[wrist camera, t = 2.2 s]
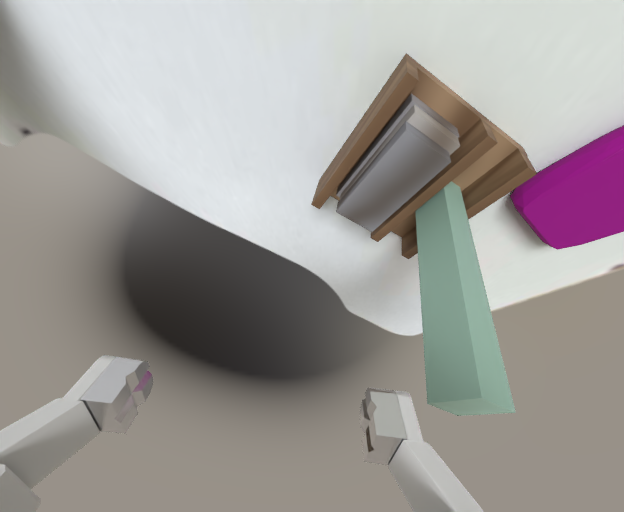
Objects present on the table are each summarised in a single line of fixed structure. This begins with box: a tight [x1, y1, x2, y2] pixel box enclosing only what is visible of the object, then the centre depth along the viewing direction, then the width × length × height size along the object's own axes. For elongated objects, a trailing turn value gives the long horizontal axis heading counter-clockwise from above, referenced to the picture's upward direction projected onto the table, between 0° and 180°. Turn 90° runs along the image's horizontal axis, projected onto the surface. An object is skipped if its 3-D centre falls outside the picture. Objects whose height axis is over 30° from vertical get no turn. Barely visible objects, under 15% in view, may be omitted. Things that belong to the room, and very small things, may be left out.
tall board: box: [415, 181, 515, 416], centre depth 21 cm, size 2×4×20 cm
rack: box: [311, 54, 537, 259], centre depth 26 cm, size 14×14×4 cm
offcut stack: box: [336, 93, 460, 232], centre depth 25 cm, size 5×11×4 cm, turn 153°
